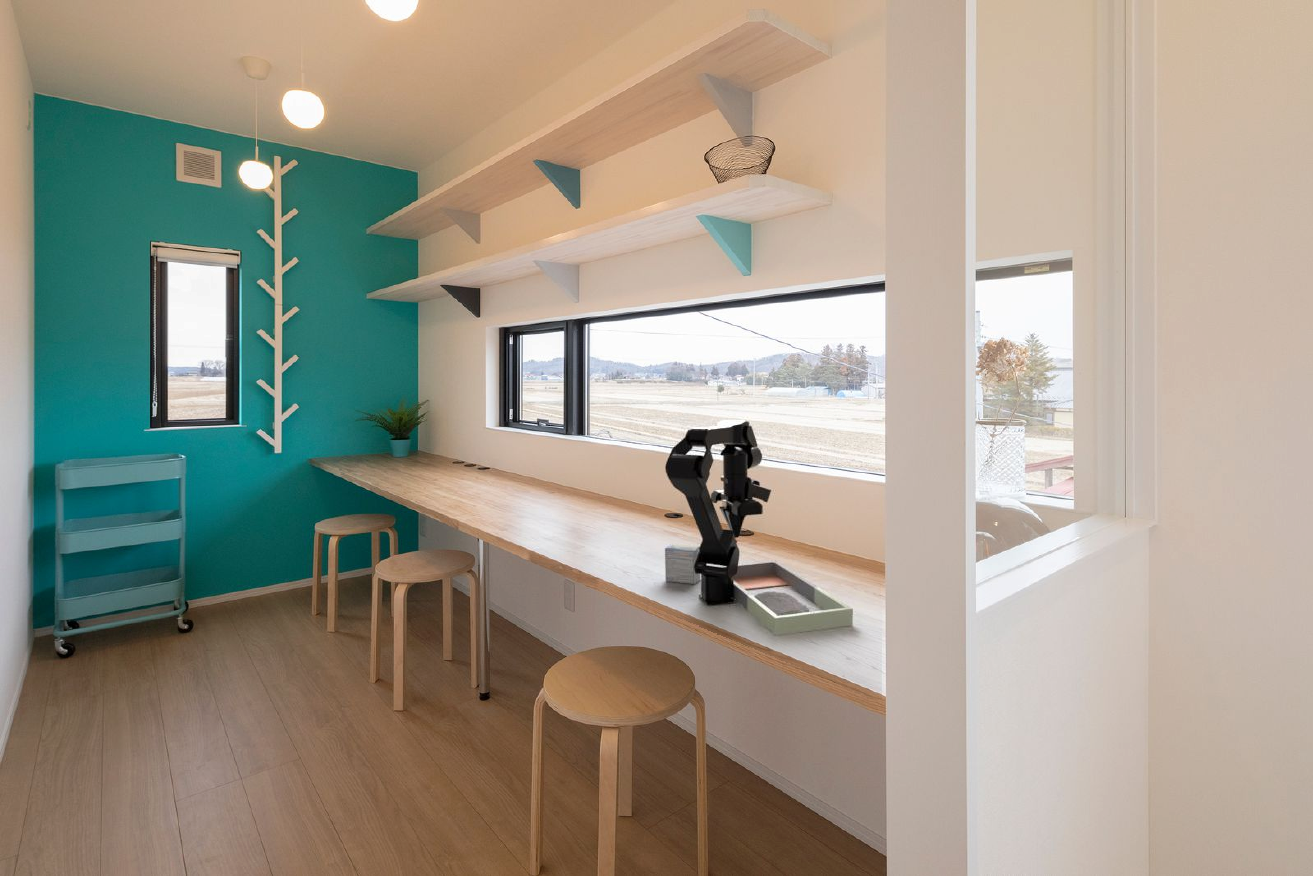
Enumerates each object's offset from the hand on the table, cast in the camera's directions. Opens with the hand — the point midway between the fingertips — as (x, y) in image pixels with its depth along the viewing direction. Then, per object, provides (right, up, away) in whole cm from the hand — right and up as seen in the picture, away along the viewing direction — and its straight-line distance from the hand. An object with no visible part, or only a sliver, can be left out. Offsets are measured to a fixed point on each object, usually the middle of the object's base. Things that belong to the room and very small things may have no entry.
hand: (735, 537), depth 158 cm
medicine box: (-12, -12, +6) cm, 18 cm away
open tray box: (+8, -13, -10) cm, 18 cm away
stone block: (+8, -14, -19) cm, 25 cm away
